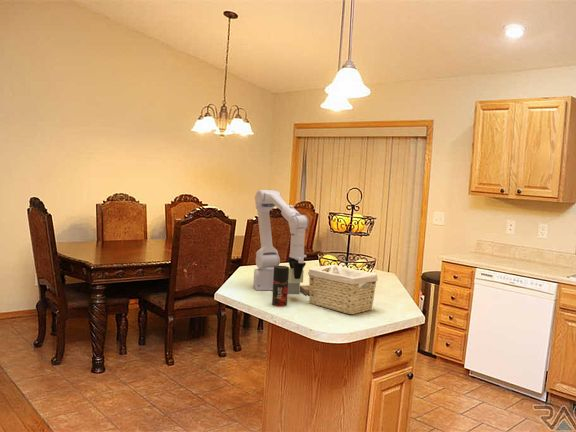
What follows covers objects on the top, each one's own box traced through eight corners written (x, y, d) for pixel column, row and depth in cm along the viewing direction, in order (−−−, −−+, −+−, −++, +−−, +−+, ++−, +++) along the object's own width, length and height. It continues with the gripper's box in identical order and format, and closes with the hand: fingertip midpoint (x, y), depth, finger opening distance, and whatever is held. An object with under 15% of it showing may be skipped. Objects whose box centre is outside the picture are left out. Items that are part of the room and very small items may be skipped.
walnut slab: (304, 296, 209) (304, 289, 209) (299, 292, 217) (300, 285, 217) (322, 296, 211) (322, 289, 211) (316, 291, 219) (317, 285, 219)
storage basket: (304, 303, 198) (306, 267, 197) (331, 297, 209) (333, 263, 208) (351, 317, 181) (353, 278, 179) (377, 310, 192) (379, 273, 191)
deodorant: (274, 306, 189) (276, 268, 188) (270, 302, 195) (272, 265, 194) (288, 306, 191) (290, 268, 190) (284, 302, 197) (286, 265, 195)
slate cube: (288, 294, 211) (288, 282, 210) (285, 291, 215) (286, 280, 215) (299, 294, 212) (300, 282, 211) (296, 291, 217) (297, 280, 216)
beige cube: (291, 282, 198) (291, 270, 198) (288, 280, 203) (288, 268, 203) (302, 282, 200) (303, 270, 199) (299, 280, 204) (300, 268, 204)
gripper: (311, 247, 194) (309, 281, 195) (302, 242, 208) (300, 273, 209) (294, 247, 192) (292, 281, 194) (286, 241, 206) (284, 273, 208)
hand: (295, 277), depth 201 cm, fingers closed on beige cube, 5 cm apart
